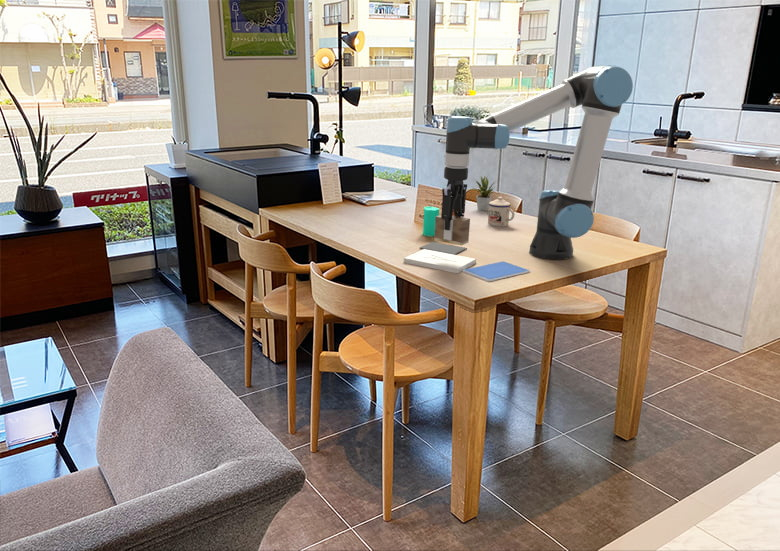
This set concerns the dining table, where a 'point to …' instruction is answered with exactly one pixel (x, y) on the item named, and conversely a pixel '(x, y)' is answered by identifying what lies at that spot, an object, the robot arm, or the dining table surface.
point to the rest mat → (443, 248)
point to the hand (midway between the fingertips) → (451, 237)
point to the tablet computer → (495, 271)
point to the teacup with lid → (499, 212)
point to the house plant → (483, 194)
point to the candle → (429, 220)
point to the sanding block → (459, 230)
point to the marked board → (440, 260)
